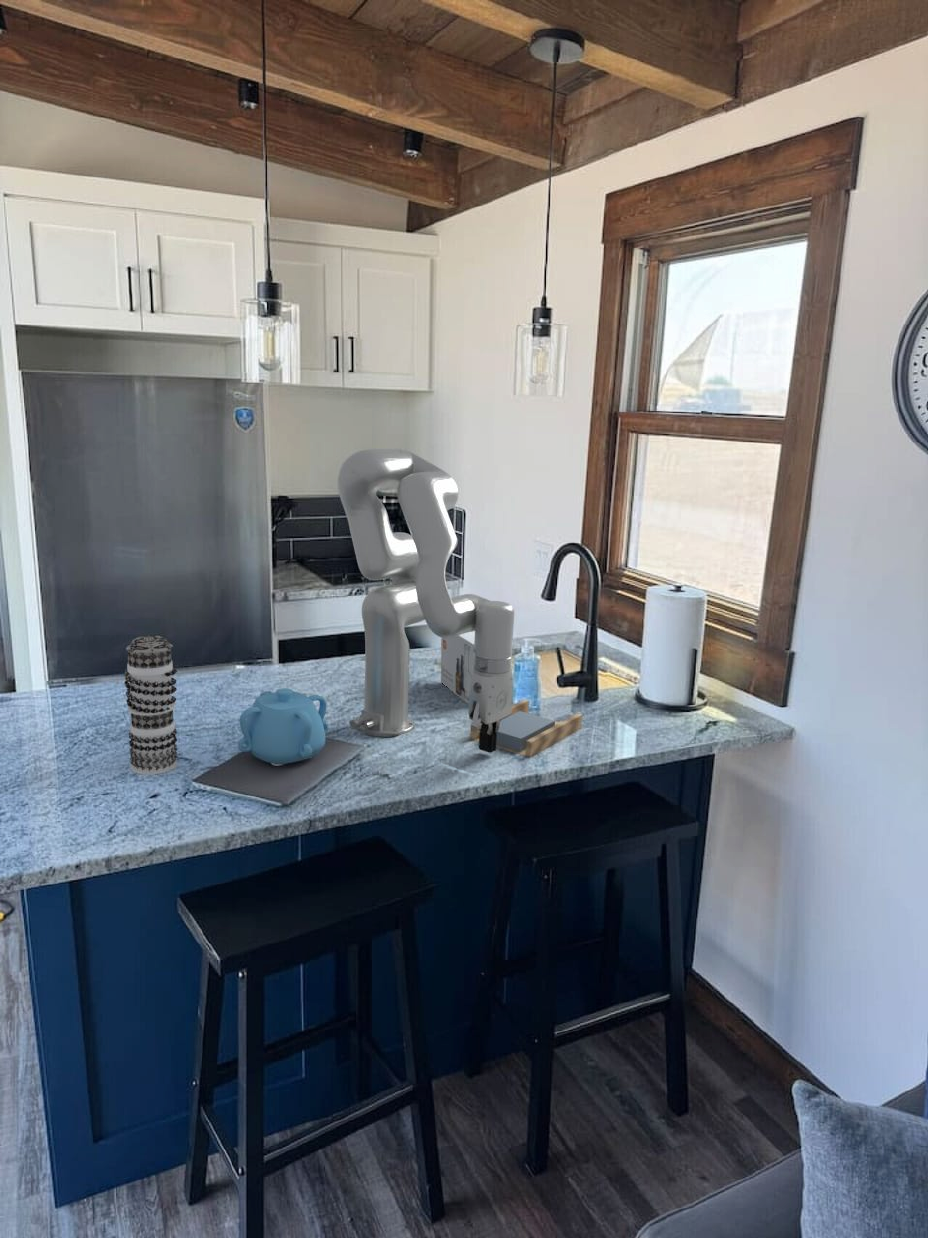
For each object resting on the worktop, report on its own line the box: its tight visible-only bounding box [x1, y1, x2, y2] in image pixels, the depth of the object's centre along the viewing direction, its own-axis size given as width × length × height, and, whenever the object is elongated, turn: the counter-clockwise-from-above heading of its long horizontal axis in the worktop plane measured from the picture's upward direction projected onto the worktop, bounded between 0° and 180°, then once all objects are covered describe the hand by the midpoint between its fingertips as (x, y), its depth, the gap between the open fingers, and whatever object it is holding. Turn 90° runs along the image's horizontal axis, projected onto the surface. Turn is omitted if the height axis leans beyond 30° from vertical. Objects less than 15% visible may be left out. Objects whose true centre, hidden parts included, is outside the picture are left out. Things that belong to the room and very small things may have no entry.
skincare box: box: [440, 631, 475, 705], centre depth 208 cm, size 21×6×16 cm, turn 25°
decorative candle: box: [123, 635, 179, 776], centre depth 157 cm, size 9×9×25 cm
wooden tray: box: [469, 699, 583, 758], centre depth 184 cm, size 22×15×4 cm
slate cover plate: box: [496, 711, 556, 752], centre depth 182 cm, size 14×9×3 cm, turn 144°
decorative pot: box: [237, 687, 329, 765], centre depth 167 cm, size 16×16×14 cm
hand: (487, 749), depth 172 cm, fingers closed
